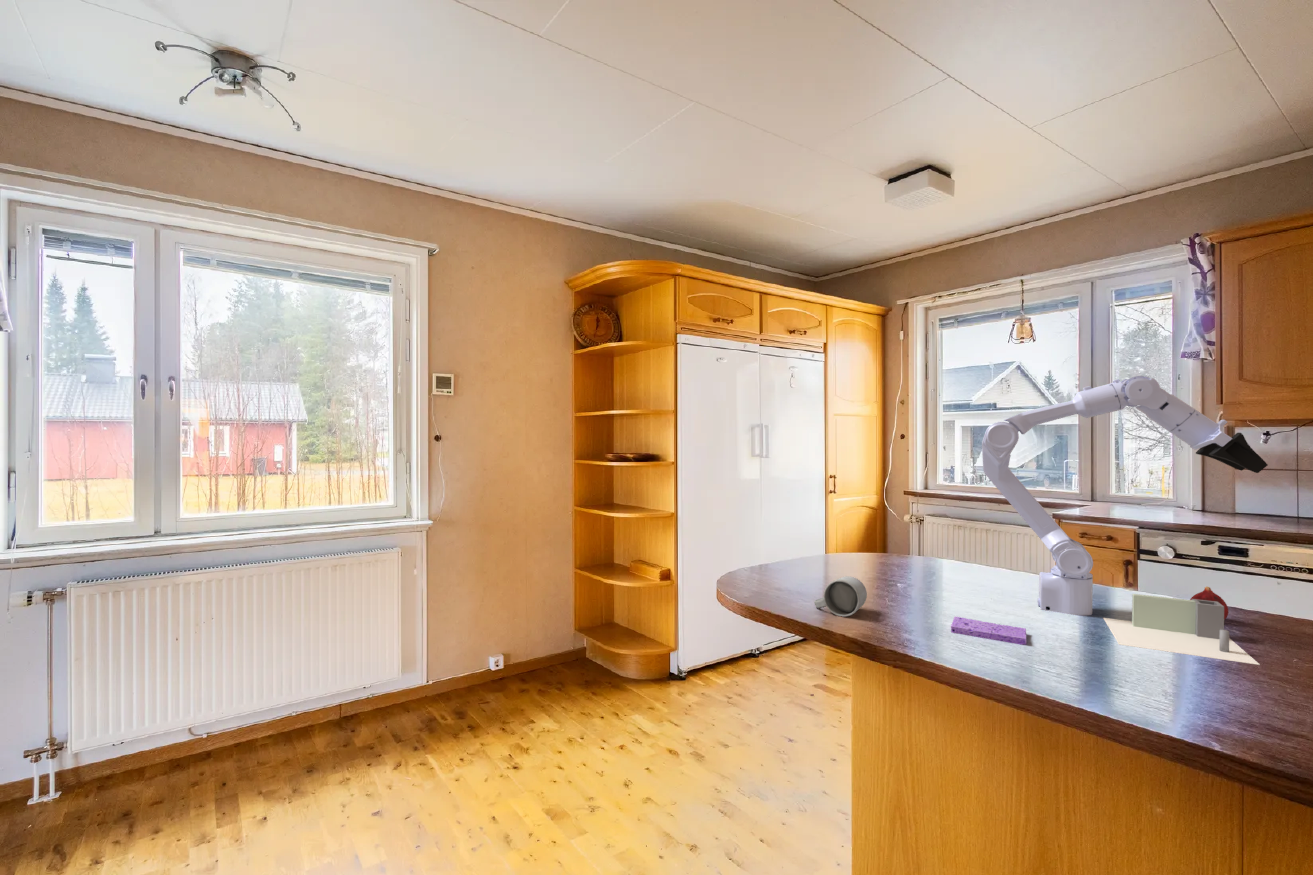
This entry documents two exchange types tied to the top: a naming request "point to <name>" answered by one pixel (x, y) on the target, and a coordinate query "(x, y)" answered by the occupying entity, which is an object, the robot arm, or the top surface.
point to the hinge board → (1178, 642)
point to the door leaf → (1178, 615)
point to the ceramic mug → (843, 596)
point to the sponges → (989, 630)
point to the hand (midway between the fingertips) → (1254, 467)
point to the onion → (1211, 598)
